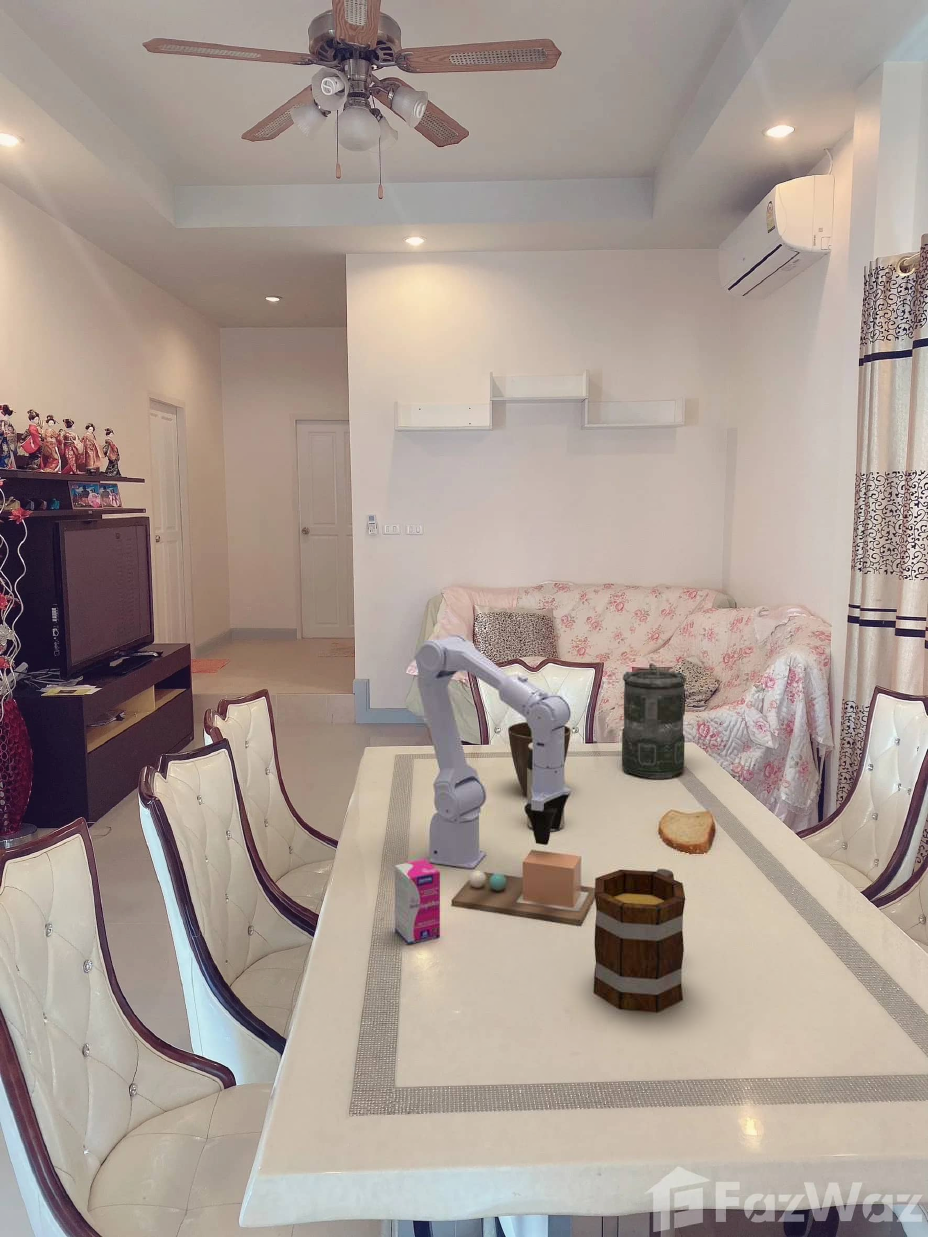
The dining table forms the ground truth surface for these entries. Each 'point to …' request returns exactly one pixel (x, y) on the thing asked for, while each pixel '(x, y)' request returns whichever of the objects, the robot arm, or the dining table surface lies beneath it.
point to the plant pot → (526, 749)
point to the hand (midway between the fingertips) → (547, 836)
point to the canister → (653, 723)
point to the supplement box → (417, 901)
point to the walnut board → (522, 902)
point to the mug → (639, 939)
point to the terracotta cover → (552, 878)
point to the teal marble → (497, 882)
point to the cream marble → (477, 879)
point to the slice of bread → (687, 831)
